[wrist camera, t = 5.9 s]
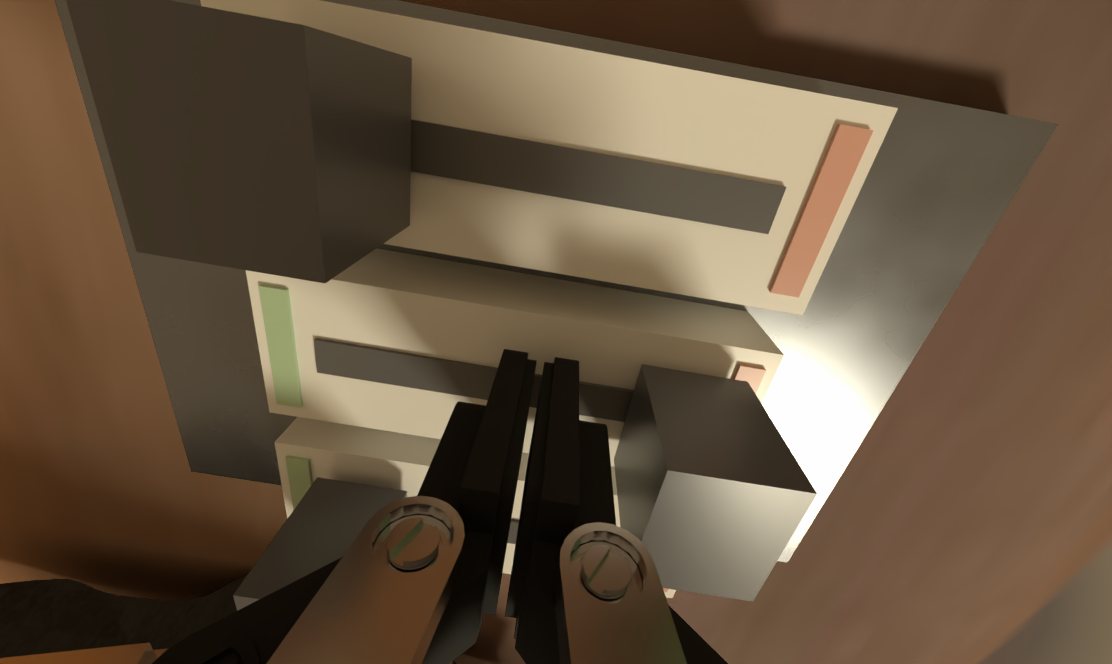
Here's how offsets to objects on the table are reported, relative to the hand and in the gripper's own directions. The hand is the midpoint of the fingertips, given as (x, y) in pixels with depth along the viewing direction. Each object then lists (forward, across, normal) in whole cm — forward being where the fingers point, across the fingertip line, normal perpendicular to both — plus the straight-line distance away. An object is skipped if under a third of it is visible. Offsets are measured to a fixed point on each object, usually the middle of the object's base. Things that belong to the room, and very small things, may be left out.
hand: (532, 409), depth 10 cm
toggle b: (0, -3, 0) cm, 3 cm away
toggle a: (0, +4, +5) cm, 6 cm away
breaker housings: (+3, +1, 0) cm, 3 cm away
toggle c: (0, +4, -5) cm, 7 cm away
